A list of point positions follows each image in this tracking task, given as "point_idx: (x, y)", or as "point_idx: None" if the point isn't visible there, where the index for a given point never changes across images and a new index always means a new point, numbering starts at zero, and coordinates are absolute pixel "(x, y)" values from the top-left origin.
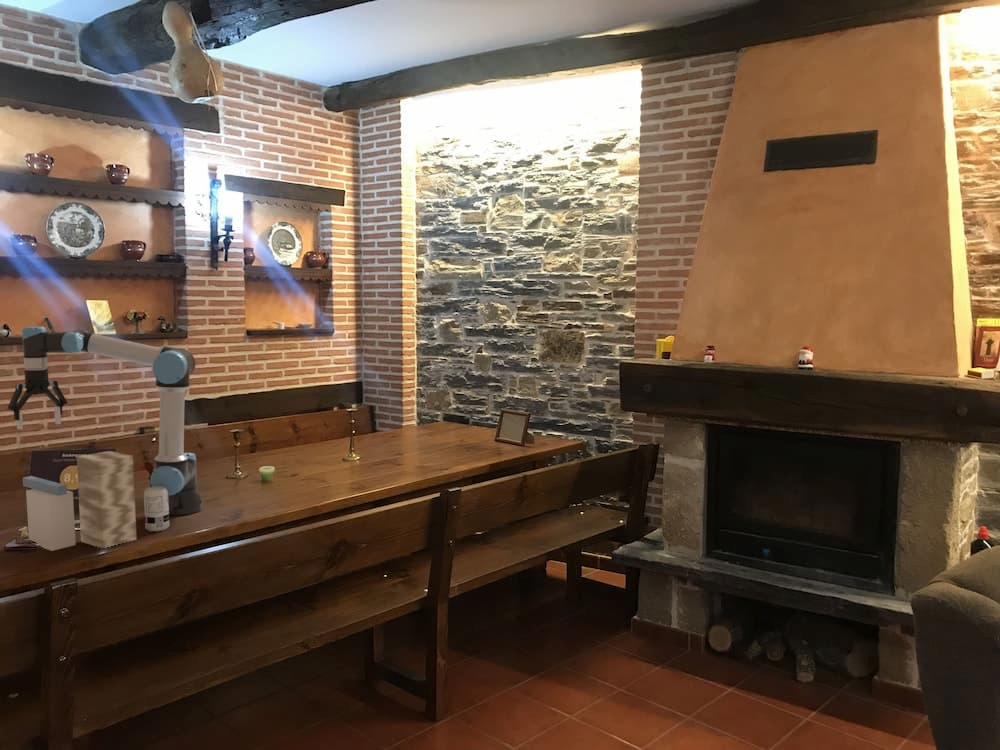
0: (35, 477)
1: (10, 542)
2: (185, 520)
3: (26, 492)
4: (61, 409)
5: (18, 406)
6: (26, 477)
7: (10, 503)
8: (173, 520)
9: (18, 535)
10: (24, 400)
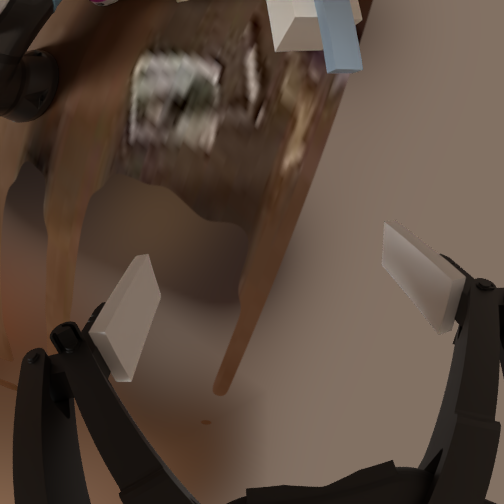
0: (333, 39)
1: (344, 80)
2: (57, 17)
3: (359, 20)
4: (89, 327)
5: (497, 304)
6: (353, 61)
7: (244, 345)
8: (68, 26)
9: (318, 113)
10: (486, 358)
